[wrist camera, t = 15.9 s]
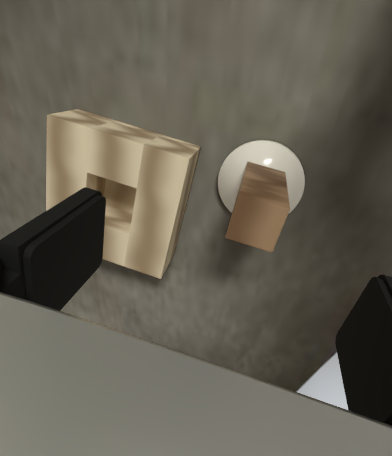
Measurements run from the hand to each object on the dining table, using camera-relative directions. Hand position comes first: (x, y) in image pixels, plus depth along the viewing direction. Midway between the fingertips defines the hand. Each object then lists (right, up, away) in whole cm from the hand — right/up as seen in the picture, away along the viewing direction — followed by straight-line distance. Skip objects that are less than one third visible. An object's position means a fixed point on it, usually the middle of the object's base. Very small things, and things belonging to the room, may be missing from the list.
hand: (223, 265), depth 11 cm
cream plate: (+7, +7, +27) cm, 28 cm away
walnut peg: (+7, +6, +26) cm, 27 cm away
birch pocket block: (-10, +7, +31) cm, 33 cm away
